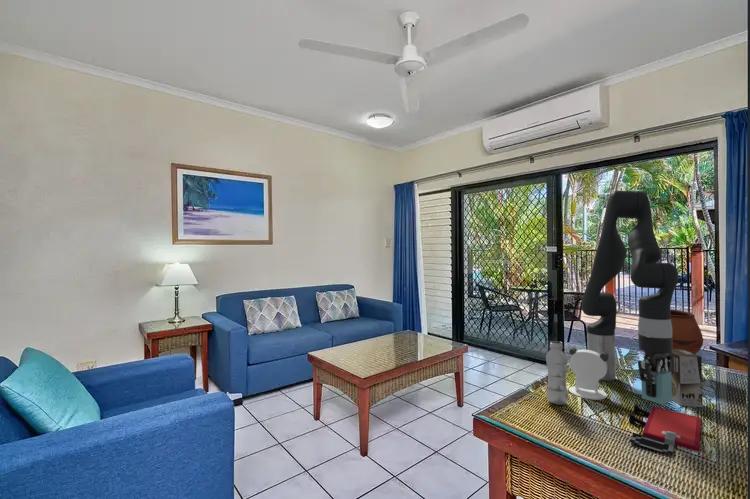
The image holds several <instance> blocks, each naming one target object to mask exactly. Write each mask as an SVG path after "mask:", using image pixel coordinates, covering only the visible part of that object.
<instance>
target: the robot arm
mask: <svg viewBox="0 0 750 499" xmlns="http://www.w3.org/2000/svg"><path fill="white" fill-rule="evenodd" d="M605 207H606V208H605V212H604V219H603V224H602V230H601V235H600V236H599V237H600V238H599V242H598V244H597V247H596V248H597V249H596V252H595V256H594V260H593V266H592V268H591V273H590V276H589V280H588V282H587V284H586V288H585V290H584V292H583V295H582V297H581V298H582V299H581V310H582V312H583V314H584V315H586V316H589V317H599V319H598V320H596V321H594V322H591V323H589V324H588V325H587V327H586V339H587V340H586V341H587V343H586V346H587V349H586V350H591V351H595V352H597V353H599V354H601V352H603V351H604V352H606V353H607V354H608V356H609V357H608V360H607V361H606V363H607V373H606V375H605V376H604V377H603V378H602V380H601V381H607V382H611V381H615V380H616V375H617V374H616V339H615V336H616V335H615V330H616V327H617V325H616V324H617V300H616V298H615V296H614V295H613V294H612V293H610V292H602V291H603V289H604V287H605V286H606V285H607V284H608V283H610V282H611V281H612V280H613V279H614V278H615V277H617V276H618V275H619V273H621V271H622V269H623V268H624V265H625V261H626V258H627V254H628V253H627V249H626V246H625V244H624V242H623V240H622V238H621V236H620V234H619V231H618V227H617V223H618V222H617V221H618V219H636V220H637V223H636V225H635V226H634V227H633V228H632V230H631V231H630V233H629V235H628V237H627V246H628V248H629V252H630V255H631V260H632V261H631V262H632V263H631V270H630V281H631V282H632V284H633V285H634V286H636V287H637V288H641V289H642V288H643V289H644V288H646V289H658V290H657V292H656V293H655V294H651V295H646V296H645V295H644V296H640V298H639V300H638V324H637V331H638V333H637V334H638V336H637V337H638V348H639V349H640V350H641V351H643V352H644V356H643V360H640V359H638V361H637V365H638V372H639V373H638V374H639V378H640V381H641V382H642V381H644V382H646V395H647V396H650V397H653V398H654V397H656V376H658V374H660V370H663V371H670V372H671V369H672V358H673V357H672V356H671V355H666V354H669V353H672V352H673V342H672V324H671V310H672V309H671V303H672V299H673V295H674V291H675V289H676V286H677V284H678V280H679V271H678V268H677V267H676V266H675V265H674V264H672V263H668V262H659V261H660V260H661V259H662V251H661V248H660V246H659V243H658V240H657V238H656V234H655V232H654V223H653V217H652V216H653V214H652V208H651V203H650V200H649V197H648V195H647V193H646V192H644V191H640V190H639V191H638V190H614V191H612V192H610V193H609V196H608V198H607V201H606V206H605ZM651 370H652V371H655V372H651ZM644 374H645V375H644ZM652 375H653V378H652Z"/></svg>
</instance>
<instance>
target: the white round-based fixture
mask: <svg viewBox="0 0 750 499" xmlns="http://www.w3.org/2000/svg"><path fill="white" fill-rule="evenodd" d="M568 353H569V355H570V356H571V357H570V360H569V367H570V370H571V371H572V373H573V374H574V376H575V385H573V386H570V387H569V389H568V390H569V392H570V393H571V394H572V395H574V396H576V397H578V396H579V398H582V399H586V400H593V401H594V400H595V401H596V400H597V401H599V400H604V399H606V398H608V395H607V393H606V392H605V391H603V390H601V389H599V384H600V383H601V382H602V381H603V380H602V378H603V377H604V376H605V375H606V373H607V363H606V361H607V360H608V357H609V356H608V354H607V353H606V352H604V351H603V352H601V354H599V353H597V352H595V351H591V350H587V349H577V348H576V347H574V346H572V347H571V348H570V349H569V352H568Z"/></svg>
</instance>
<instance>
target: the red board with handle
mask: <svg viewBox="0 0 750 499" xmlns="http://www.w3.org/2000/svg"><path fill="white" fill-rule="evenodd" d="M639 405H640V404H637V403H634V406H633V413H632V412H629V417H628V418H629V421H628V422H629V424H630V425H634V424H635V423H637V424H638V425H641V426H643V427H644V428H643V430H642V434H639V433H636V432H633V433H632V435H631V438H630V440H629V443H631V444H635V445H637V446H638V445H639V446H642V447H646V448H648V449H652V450H654V451H658V452H660V453H664V454H668V455H671V456H673V453H674V449H675V446H677V447H680V448H684V449H687V450H691V451H694V452H698V453H700V450H701V449H700V444H701V429H702V428H701V427H702V426H701V424H702V417H699V416H695V415H690V414H687V413H682V412H678V411H675V410H670V409H666V408H662V407H659V406H654V405H652V406H651V409H650V411H647V410H645V409H642V408H640V407H639ZM639 413H640V414H643V415H644V416H647V420H646V421H644V420H643V419H640V418H638V417H637V416H635V415H639Z"/></svg>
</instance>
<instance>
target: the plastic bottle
mask: <svg viewBox="0 0 750 499" xmlns="http://www.w3.org/2000/svg"><path fill="white" fill-rule="evenodd" d="M549 344H550V345H549V348H550V350H549V351H548V352H547V353H546V357H545V360H546V368H547V387H546V399H547V401H548V402H549V403H550V404H554V405H558V406H564V405H565V406H566V405H567V403H568V401H569V392H568V389H567V388H568V387H567V367H568V358H567V357H568V356H567V355H566V354H565V352H564V351H563V349H564V346H563V342H562V341H556V340H552V341H550V342H549Z"/></svg>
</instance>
